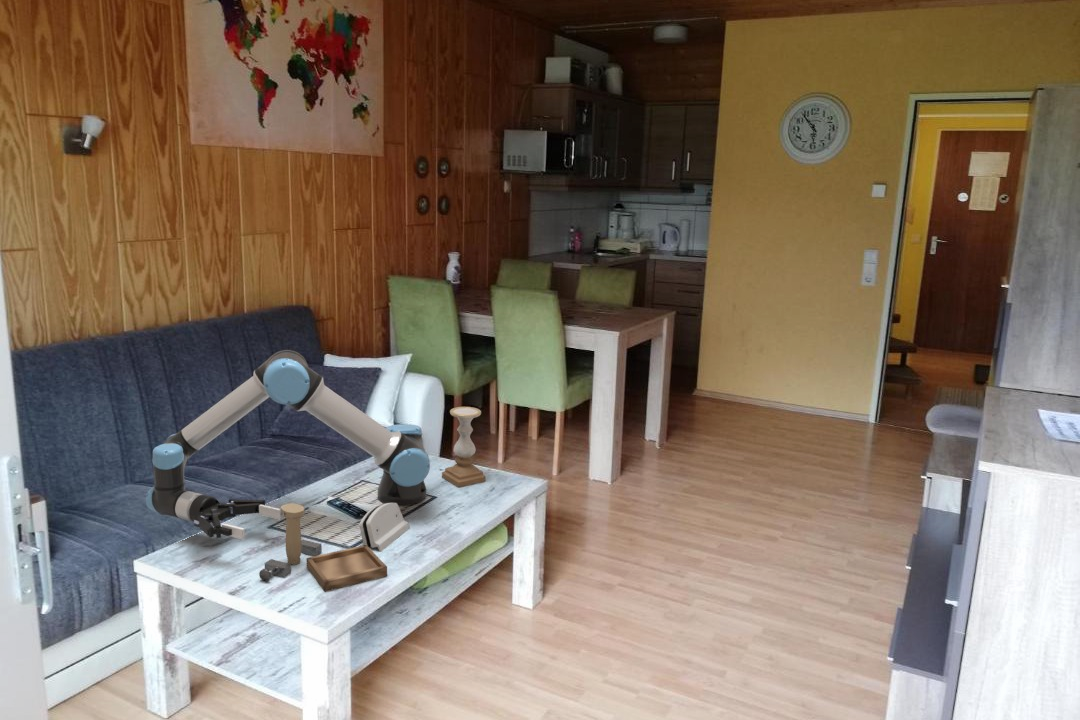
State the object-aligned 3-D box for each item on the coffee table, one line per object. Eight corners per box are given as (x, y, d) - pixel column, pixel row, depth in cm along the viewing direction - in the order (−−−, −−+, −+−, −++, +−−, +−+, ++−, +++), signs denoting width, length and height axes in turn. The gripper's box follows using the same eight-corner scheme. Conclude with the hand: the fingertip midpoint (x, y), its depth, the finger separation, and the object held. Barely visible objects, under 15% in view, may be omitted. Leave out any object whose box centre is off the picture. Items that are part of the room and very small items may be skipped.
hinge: (380, 552, 212) (369, 517, 211) (365, 554, 214) (354, 519, 213) (410, 527, 228) (400, 495, 227) (396, 530, 230) (386, 497, 229)
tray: (366, 553, 211) (366, 544, 211) (387, 576, 200) (387, 566, 200) (306, 567, 203) (306, 558, 202) (324, 591, 191) (324, 582, 191)
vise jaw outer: (271, 568, 201) (271, 556, 201) (290, 573, 199) (290, 561, 199) (254, 578, 196) (254, 567, 195) (274, 584, 194) (273, 572, 193)
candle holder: (441, 477, 267) (442, 408, 262) (468, 471, 273) (470, 404, 268) (458, 488, 258) (460, 417, 253) (486, 481, 265) (488, 412, 260)
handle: (293, 569, 201) (292, 514, 198) (278, 561, 205) (276, 507, 201) (309, 562, 205) (308, 508, 202) (294, 555, 209) (292, 501, 205)
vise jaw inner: (302, 548, 213) (302, 539, 212) (321, 552, 211) (321, 544, 210) (296, 551, 210) (296, 543, 210) (315, 556, 208) (315, 547, 208)
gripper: (232, 504, 226) (293, 519, 218) (162, 539, 203) (227, 557, 196) (231, 479, 224) (293, 493, 217) (160, 512, 201) (226, 528, 194)
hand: (262, 523), depth 206 cm, fingers open, 13 cm apart
